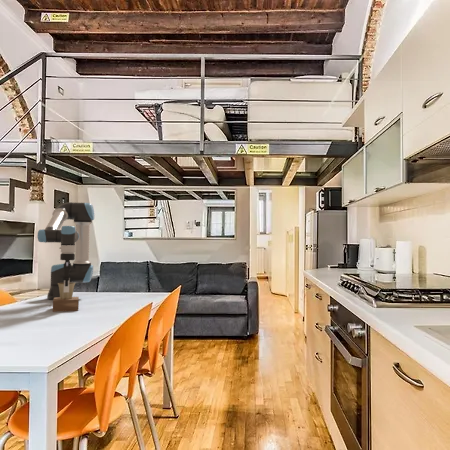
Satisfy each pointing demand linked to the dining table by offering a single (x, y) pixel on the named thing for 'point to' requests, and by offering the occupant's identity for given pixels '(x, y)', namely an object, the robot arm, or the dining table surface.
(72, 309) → the walnut block
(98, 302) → the dining table surface
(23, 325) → the dining table surface
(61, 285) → the flower pot
